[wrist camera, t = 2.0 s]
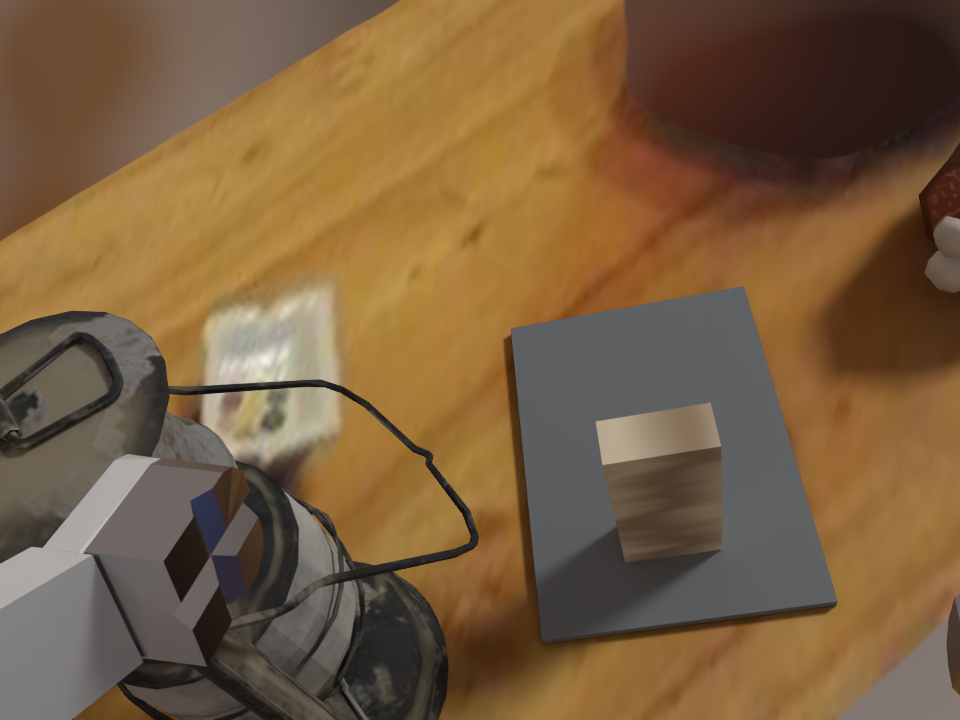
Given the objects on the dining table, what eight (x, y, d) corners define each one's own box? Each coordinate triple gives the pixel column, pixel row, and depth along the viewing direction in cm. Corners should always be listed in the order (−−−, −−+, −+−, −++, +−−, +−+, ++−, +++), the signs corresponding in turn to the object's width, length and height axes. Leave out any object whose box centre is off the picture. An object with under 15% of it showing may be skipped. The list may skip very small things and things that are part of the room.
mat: (543, 643, 51) (541, 640, 51) (512, 333, 64) (510, 328, 64) (836, 605, 49) (837, 601, 49) (743, 291, 62) (743, 286, 62)
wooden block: (625, 563, 52) (602, 465, 43) (619, 524, 54) (595, 421, 44) (722, 549, 52) (721, 446, 42) (713, 510, 53) (710, 402, 43)
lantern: (154, 644, 57) (-264, 383, 33) (394, 450, 61) (178, 93, 37) (308, 915, 46) (-142, 825, 22) (584, 659, 51) (455, 350, 27)
